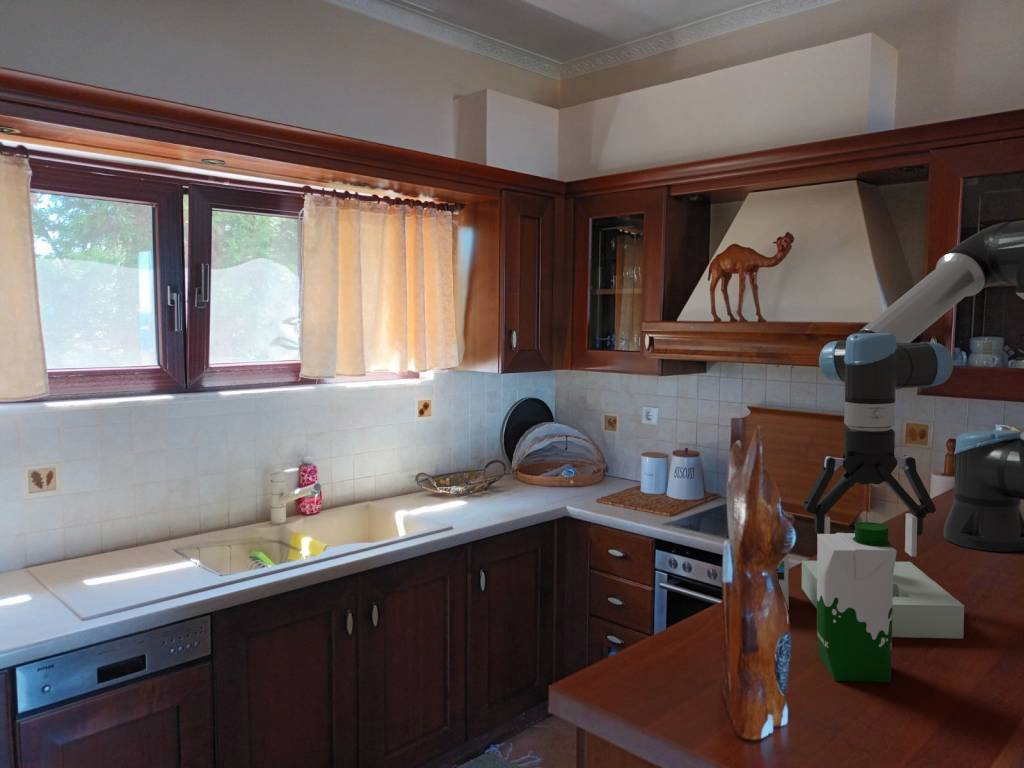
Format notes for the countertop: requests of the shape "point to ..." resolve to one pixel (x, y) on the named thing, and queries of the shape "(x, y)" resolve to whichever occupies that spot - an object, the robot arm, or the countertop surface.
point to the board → (910, 603)
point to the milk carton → (856, 603)
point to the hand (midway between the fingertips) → (867, 554)
